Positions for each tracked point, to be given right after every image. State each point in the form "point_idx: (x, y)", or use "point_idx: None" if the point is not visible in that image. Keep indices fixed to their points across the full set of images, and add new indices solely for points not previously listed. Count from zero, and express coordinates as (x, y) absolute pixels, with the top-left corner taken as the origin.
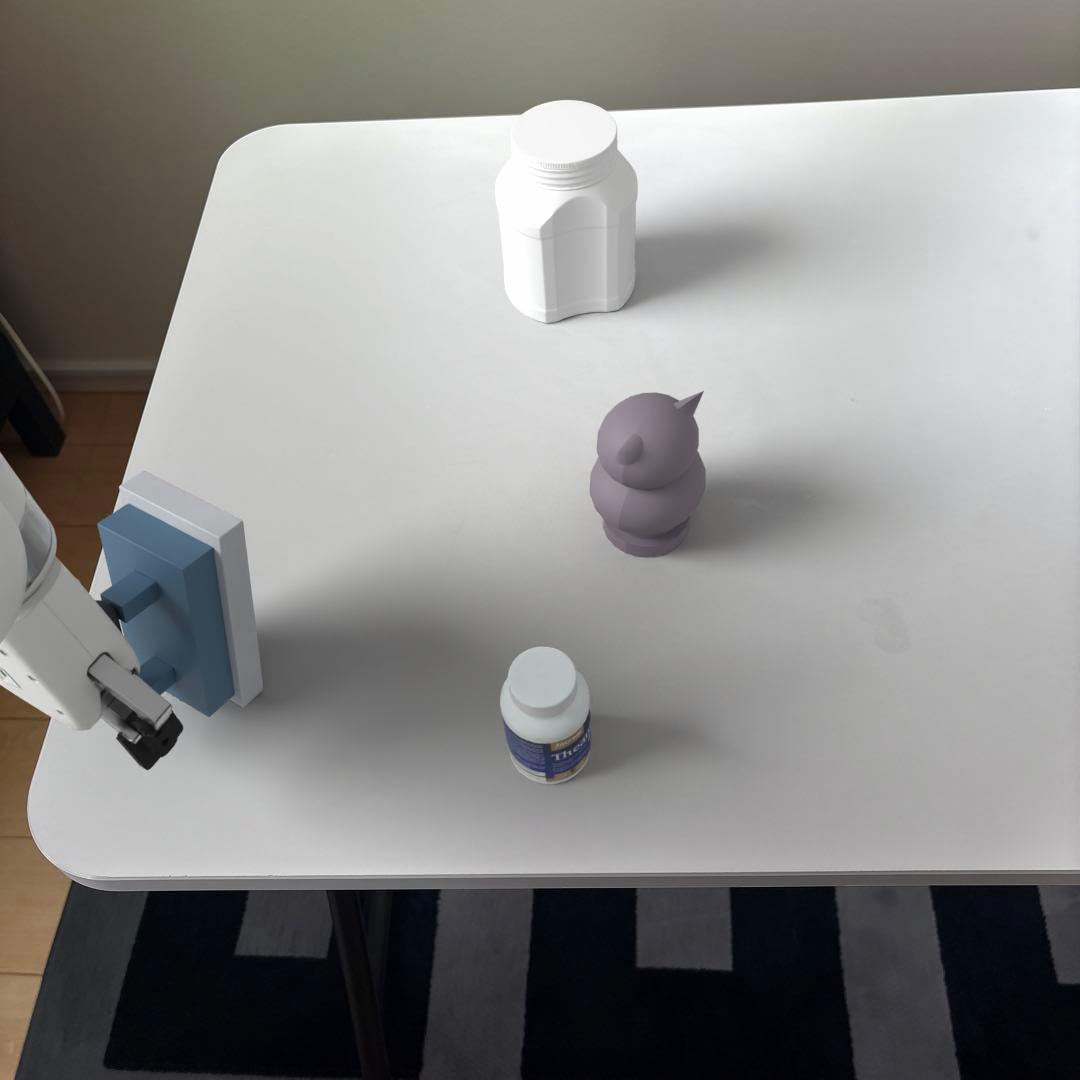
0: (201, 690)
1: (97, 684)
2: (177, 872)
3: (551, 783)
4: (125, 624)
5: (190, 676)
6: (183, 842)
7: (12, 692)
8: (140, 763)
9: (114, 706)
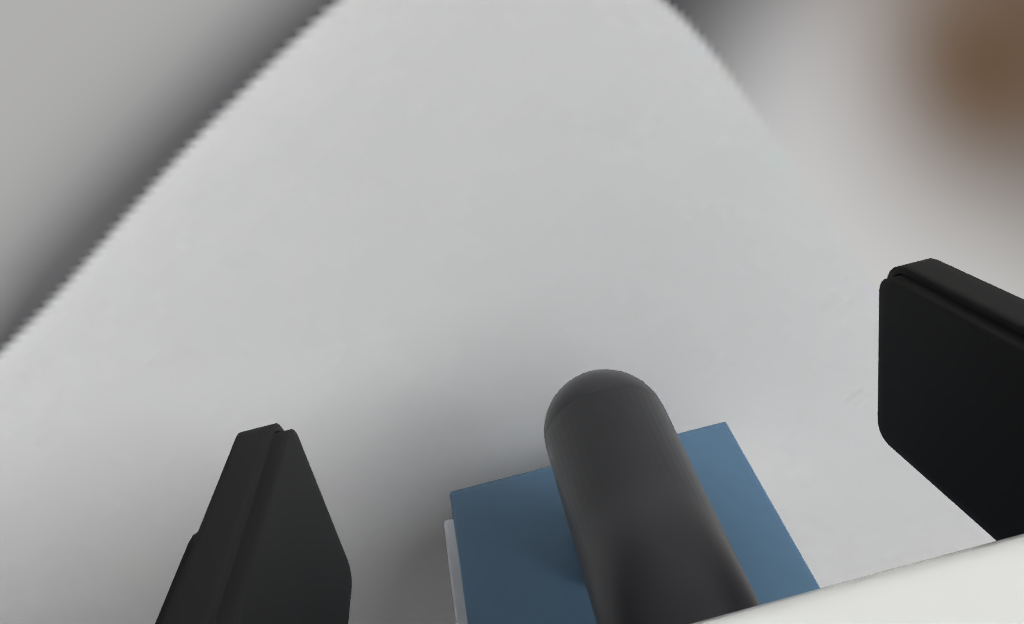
0: (475, 583)
1: (663, 548)
2: (180, 158)
3: None
4: None
5: (518, 611)
6: (250, 218)
7: (941, 580)
8: (225, 469)
9: (580, 468)
